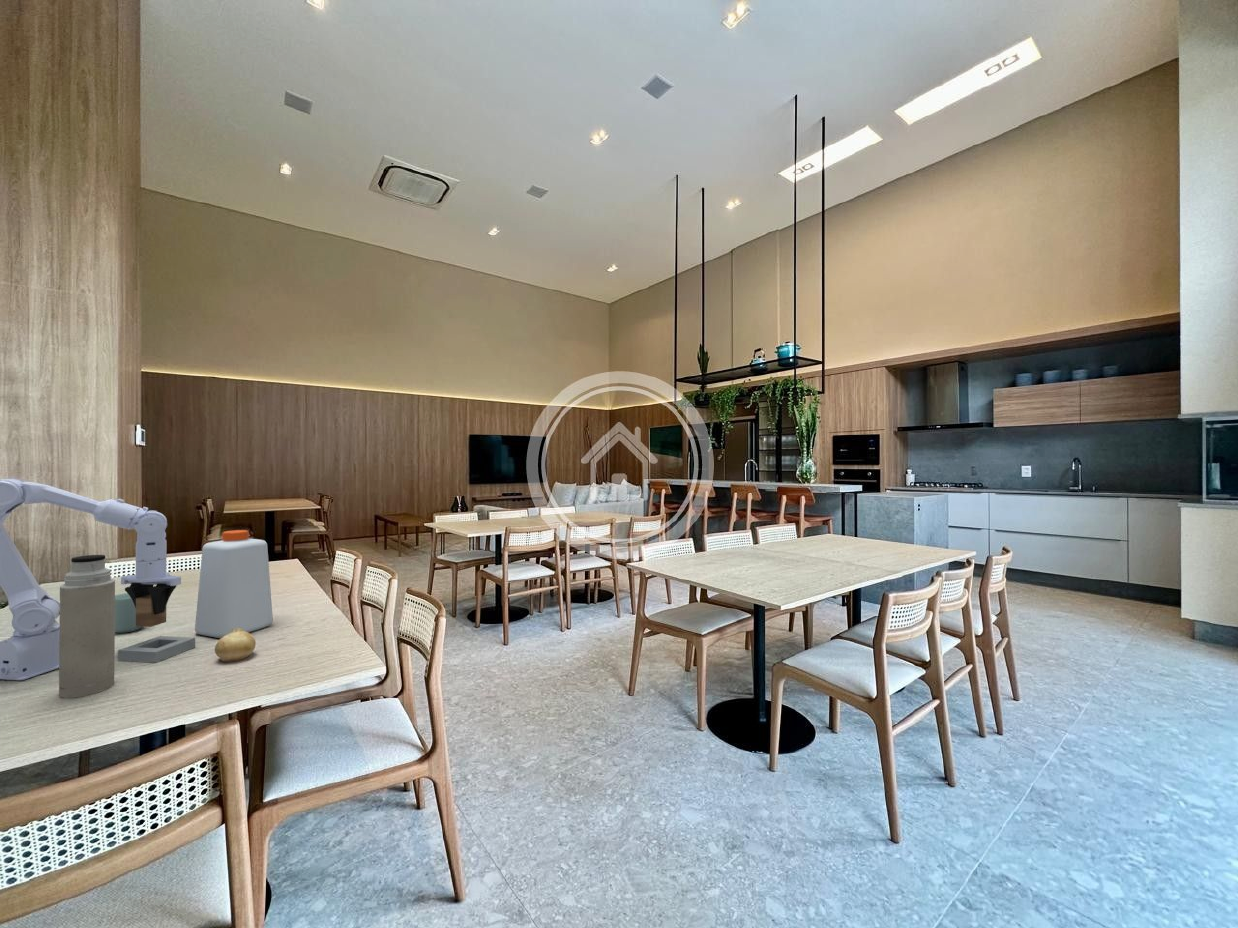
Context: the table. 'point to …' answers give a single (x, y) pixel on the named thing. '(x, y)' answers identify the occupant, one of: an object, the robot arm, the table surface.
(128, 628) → the cup
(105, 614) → the thermos bottle
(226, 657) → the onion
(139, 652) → the grey flat square frame
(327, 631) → the table surface
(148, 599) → the wooden rectangular block
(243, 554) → the plastic bottle
